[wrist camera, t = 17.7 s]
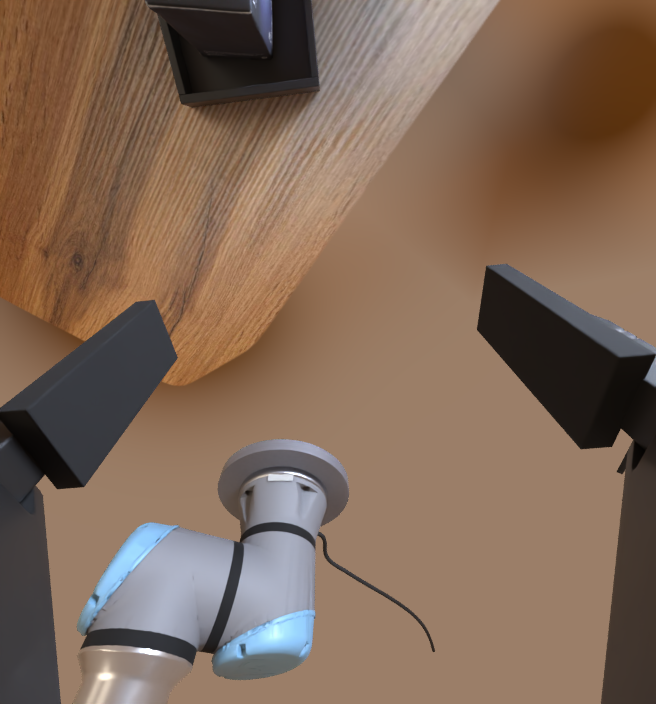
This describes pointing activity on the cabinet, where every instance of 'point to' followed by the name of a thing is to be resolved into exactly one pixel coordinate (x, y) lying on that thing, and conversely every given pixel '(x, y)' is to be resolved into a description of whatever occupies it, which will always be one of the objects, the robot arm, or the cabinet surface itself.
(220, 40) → the small box
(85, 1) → the cabinet surface
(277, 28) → the tray
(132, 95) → the cabinet surface
